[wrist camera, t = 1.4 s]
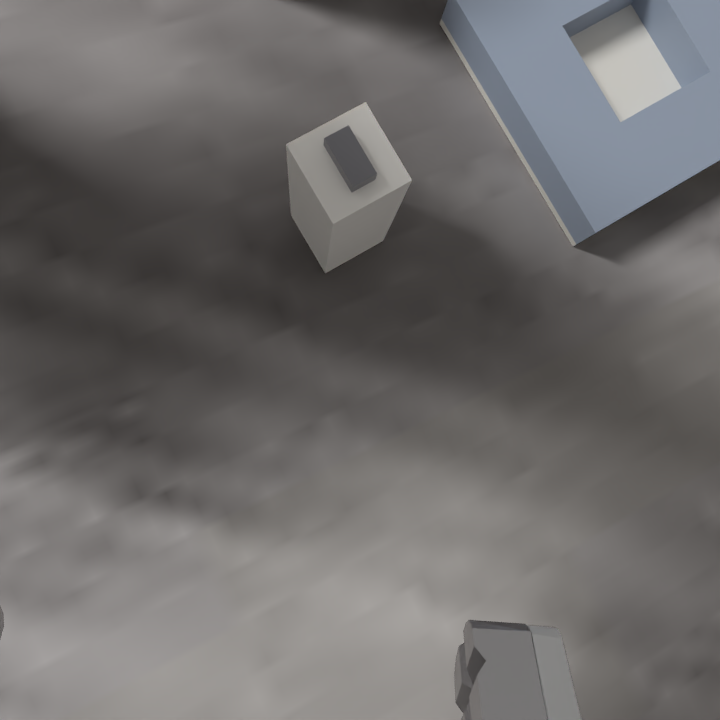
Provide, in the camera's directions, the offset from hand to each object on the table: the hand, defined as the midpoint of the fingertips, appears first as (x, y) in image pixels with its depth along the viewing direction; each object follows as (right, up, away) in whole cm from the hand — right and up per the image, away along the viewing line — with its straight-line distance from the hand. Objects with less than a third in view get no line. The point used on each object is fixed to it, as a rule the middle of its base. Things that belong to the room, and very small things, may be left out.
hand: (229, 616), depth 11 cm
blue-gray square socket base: (+18, +22, +28) cm, 40 cm away
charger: (+1, +12, +26) cm, 29 cm away
